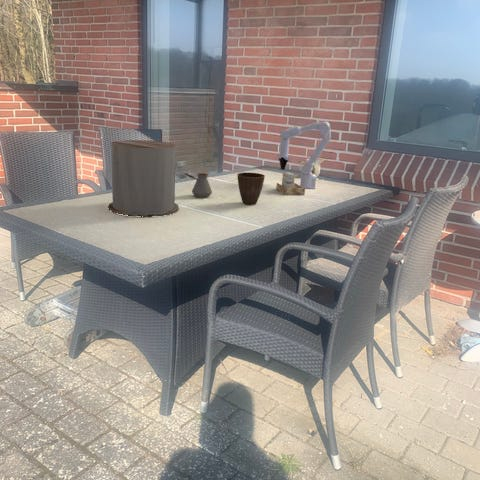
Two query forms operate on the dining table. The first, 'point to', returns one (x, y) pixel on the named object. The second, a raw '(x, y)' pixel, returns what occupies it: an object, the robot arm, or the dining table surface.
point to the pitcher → (314, 167)
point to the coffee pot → (201, 186)
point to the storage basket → (143, 178)
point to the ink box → (288, 180)
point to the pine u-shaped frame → (291, 190)
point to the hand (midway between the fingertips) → (282, 169)
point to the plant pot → (250, 187)
